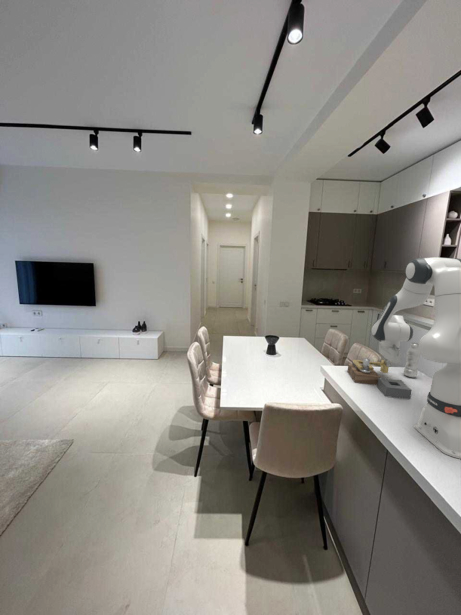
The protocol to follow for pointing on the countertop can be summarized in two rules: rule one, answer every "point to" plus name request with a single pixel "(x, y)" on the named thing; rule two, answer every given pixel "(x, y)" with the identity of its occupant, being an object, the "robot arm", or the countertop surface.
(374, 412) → the countertop surface
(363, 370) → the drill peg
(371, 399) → the countertop surface
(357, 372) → the socket block
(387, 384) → the grey square holed piece
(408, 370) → the plastic bottle
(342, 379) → the countertop surface
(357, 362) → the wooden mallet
